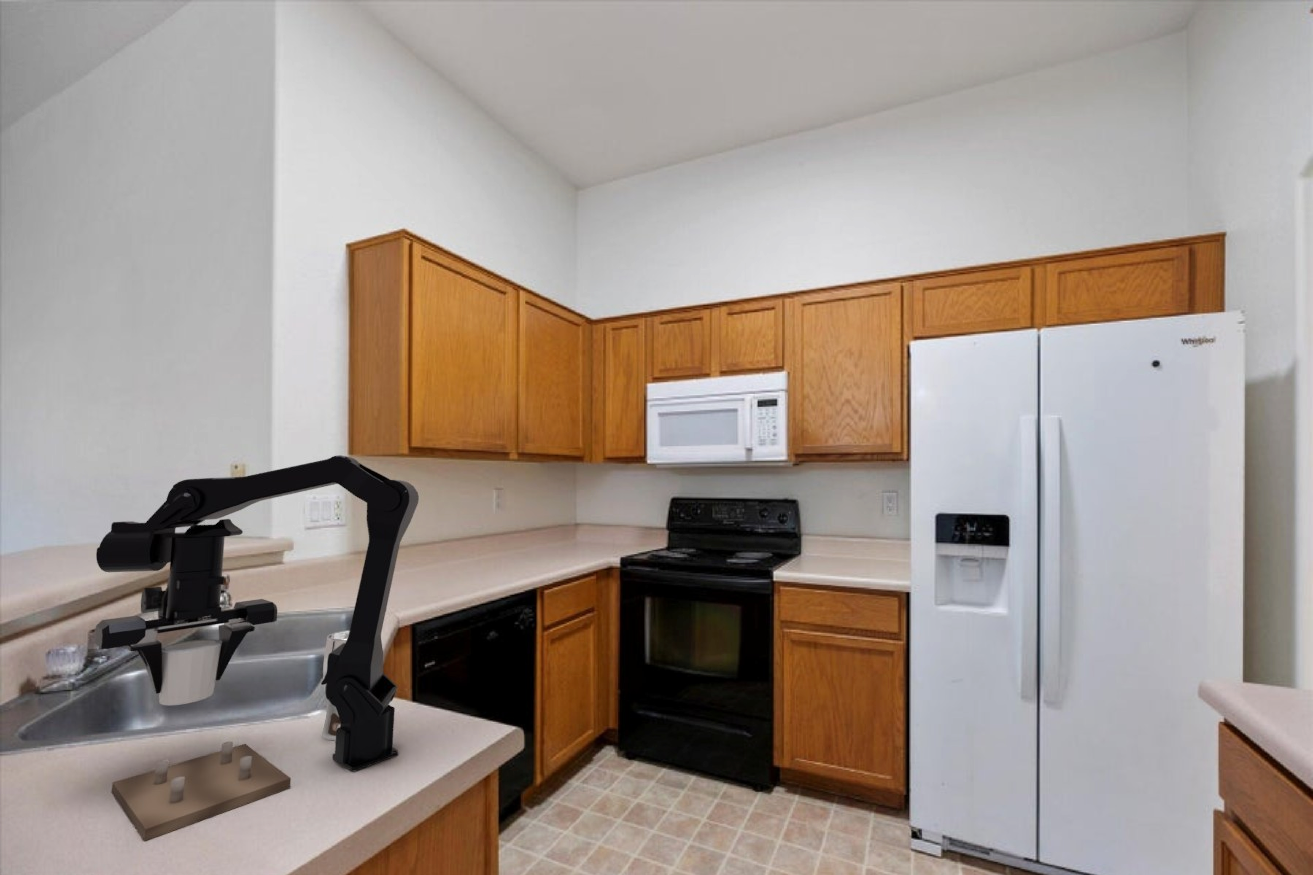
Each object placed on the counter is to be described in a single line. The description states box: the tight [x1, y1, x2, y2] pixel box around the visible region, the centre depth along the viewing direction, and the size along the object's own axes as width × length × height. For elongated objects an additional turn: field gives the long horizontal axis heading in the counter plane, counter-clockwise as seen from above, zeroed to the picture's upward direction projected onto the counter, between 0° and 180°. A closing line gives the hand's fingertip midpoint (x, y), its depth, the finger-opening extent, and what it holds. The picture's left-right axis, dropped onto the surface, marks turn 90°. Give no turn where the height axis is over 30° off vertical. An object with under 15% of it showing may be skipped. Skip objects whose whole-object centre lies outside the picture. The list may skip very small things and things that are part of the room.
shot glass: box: [158, 638, 222, 706], centre depth 77 cm, size 7×7×7 cm
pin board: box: [111, 741, 292, 842], centre depth 71 cm, size 14×16×4 cm
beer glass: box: [321, 629, 350, 741], centre depth 89 cm, size 7×7×15 cm
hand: (188, 686), depth 76 cm, fingers closed on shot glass, 6 cm apart
